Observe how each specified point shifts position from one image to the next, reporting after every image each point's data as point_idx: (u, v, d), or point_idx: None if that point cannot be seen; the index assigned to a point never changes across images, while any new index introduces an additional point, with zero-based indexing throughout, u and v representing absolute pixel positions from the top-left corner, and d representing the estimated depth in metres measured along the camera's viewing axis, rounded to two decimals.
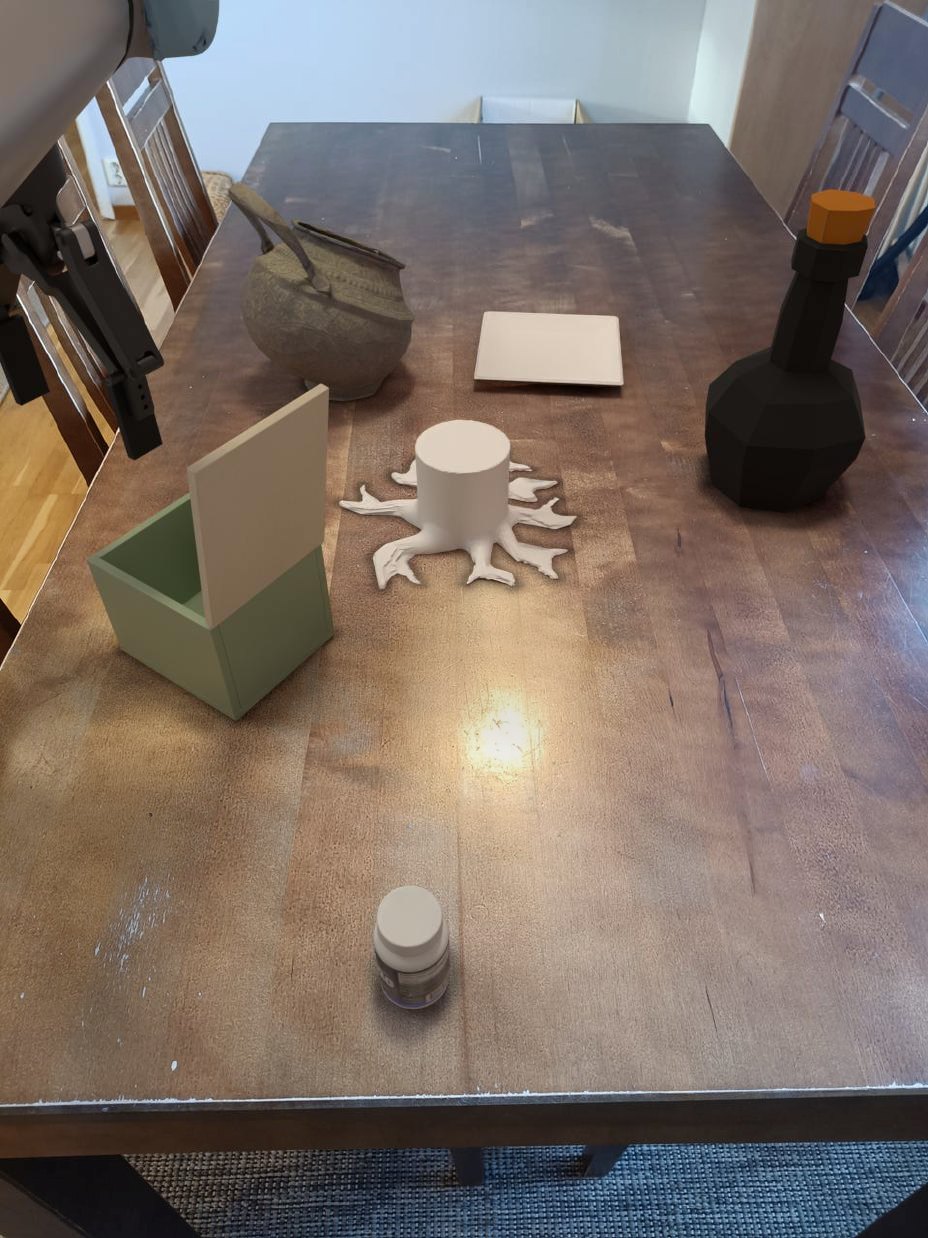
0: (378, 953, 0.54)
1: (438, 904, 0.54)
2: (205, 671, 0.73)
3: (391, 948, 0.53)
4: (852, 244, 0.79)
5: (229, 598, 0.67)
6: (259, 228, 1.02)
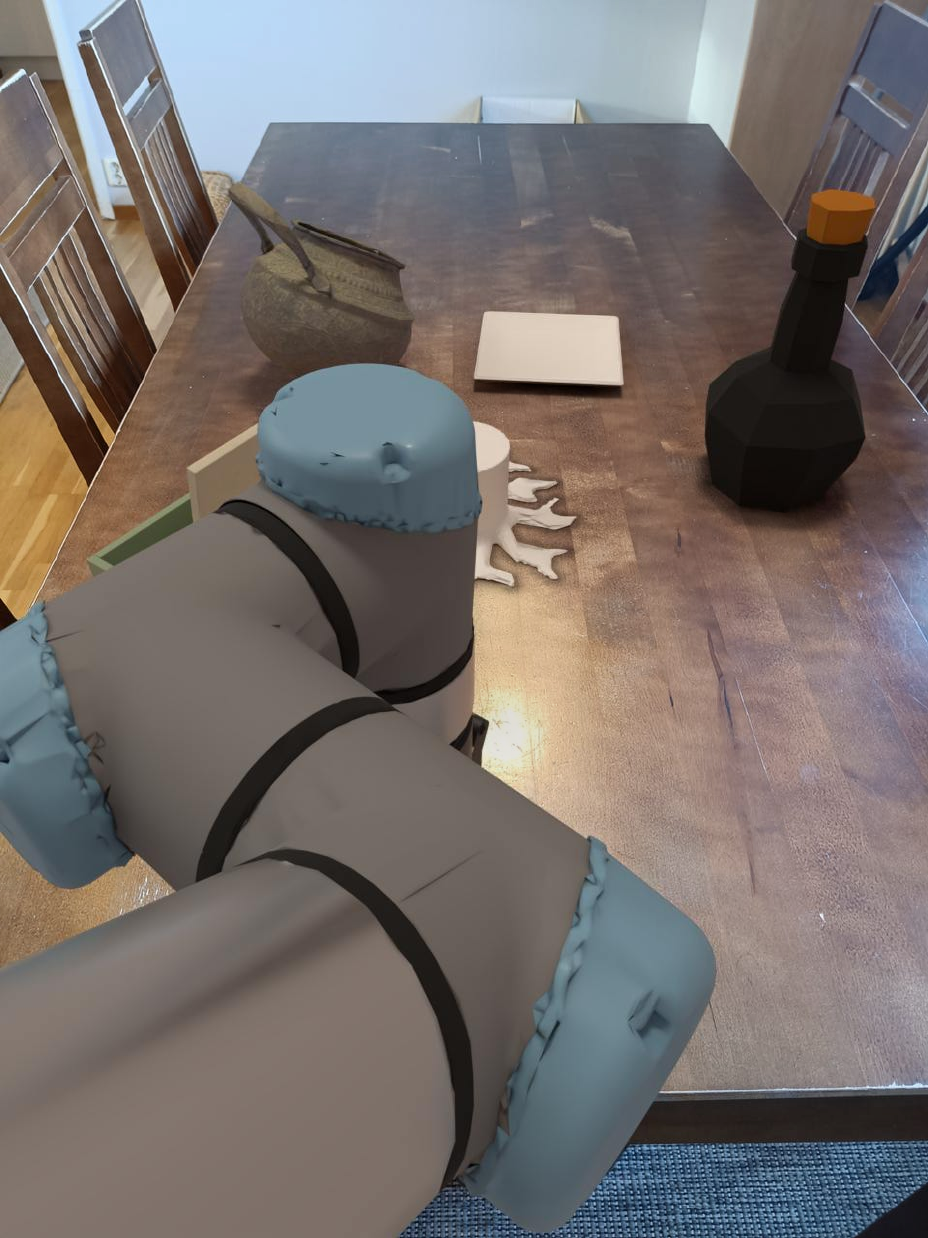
0: None
1: None
2: None
3: None
4: (852, 244, 0.79)
5: None
6: (259, 228, 1.02)
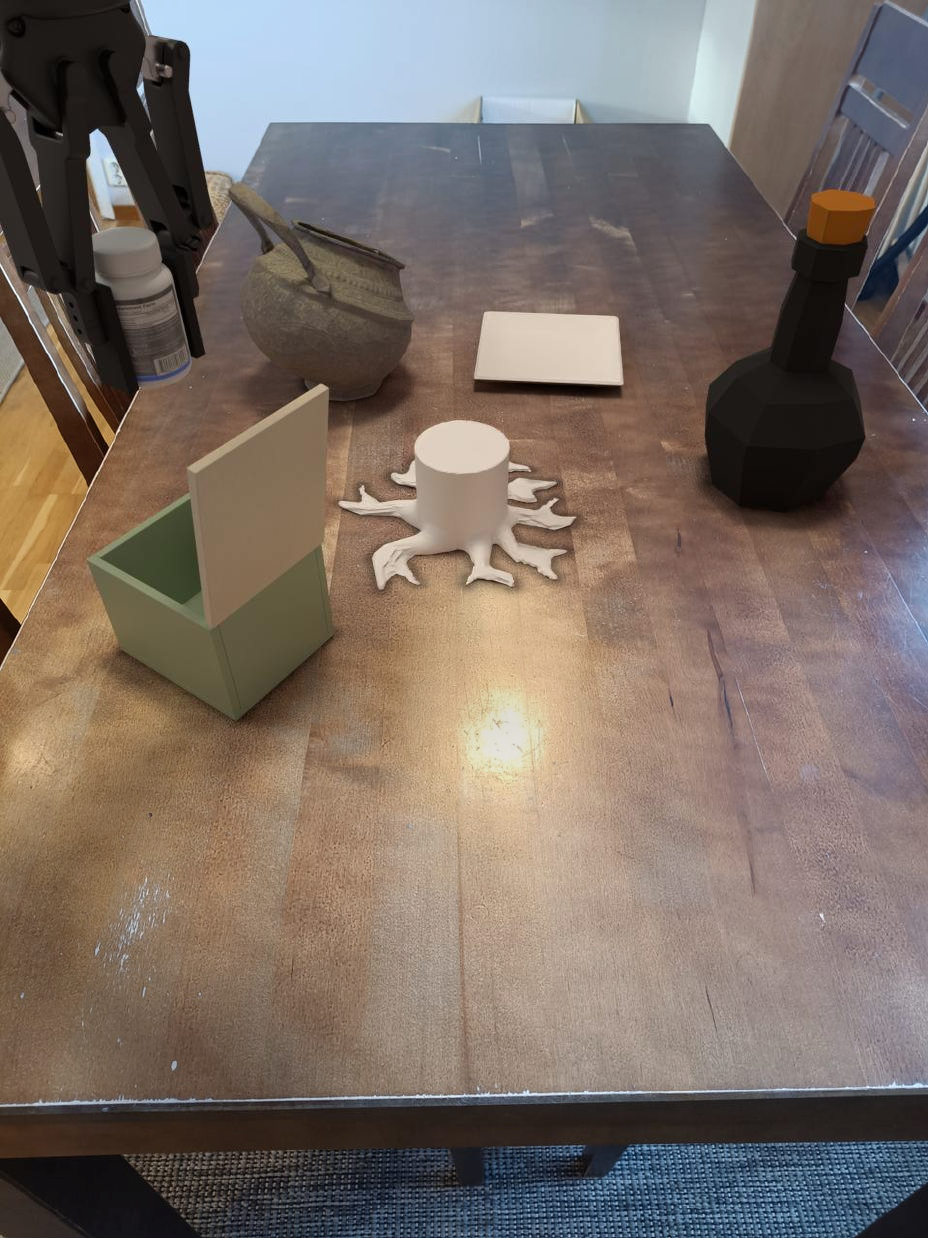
0: None
1: (154, 234, 0.52)
2: (205, 671, 0.73)
3: (98, 263, 0.51)
4: (852, 244, 0.79)
5: (229, 598, 0.67)
6: (259, 228, 1.02)
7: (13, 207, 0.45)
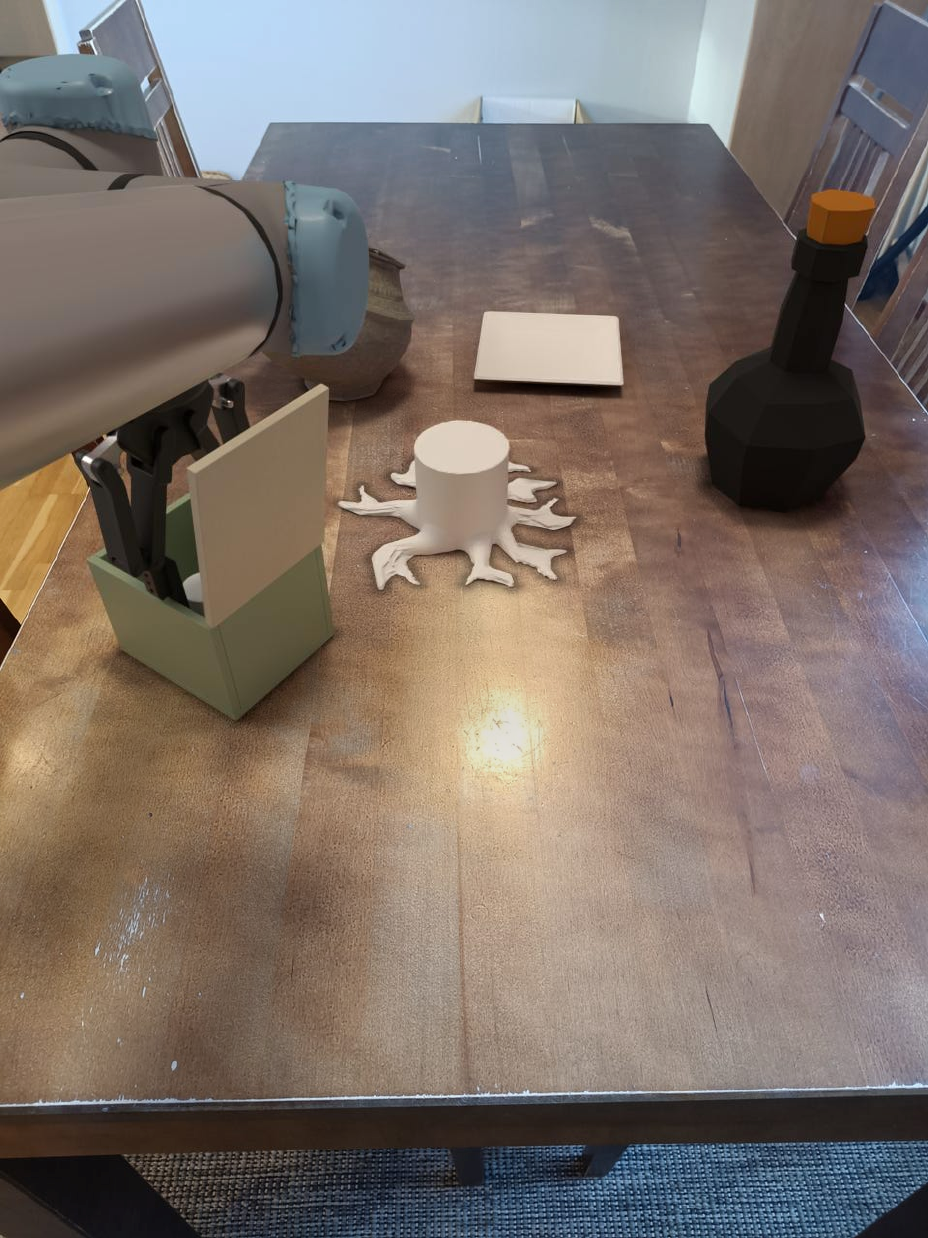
0: None
1: None
2: (205, 671, 0.73)
3: (189, 605, 0.73)
4: (852, 244, 0.79)
5: (229, 598, 0.67)
6: None
7: (114, 525, 0.62)
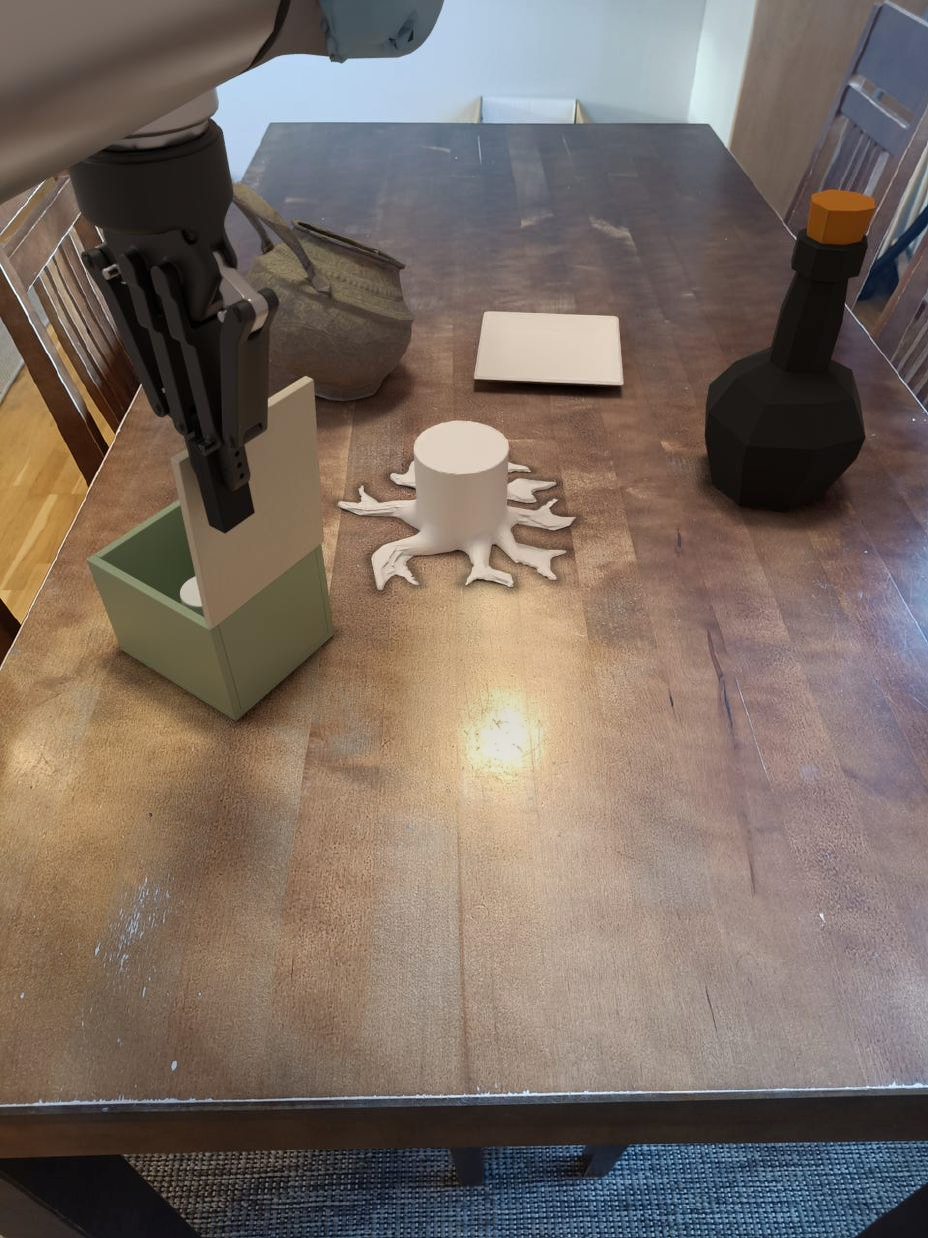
0: None
1: None
2: (205, 671, 0.73)
3: None
4: (852, 244, 0.79)
5: (227, 596, 0.67)
6: (259, 228, 1.02)
7: (262, 376, 0.49)
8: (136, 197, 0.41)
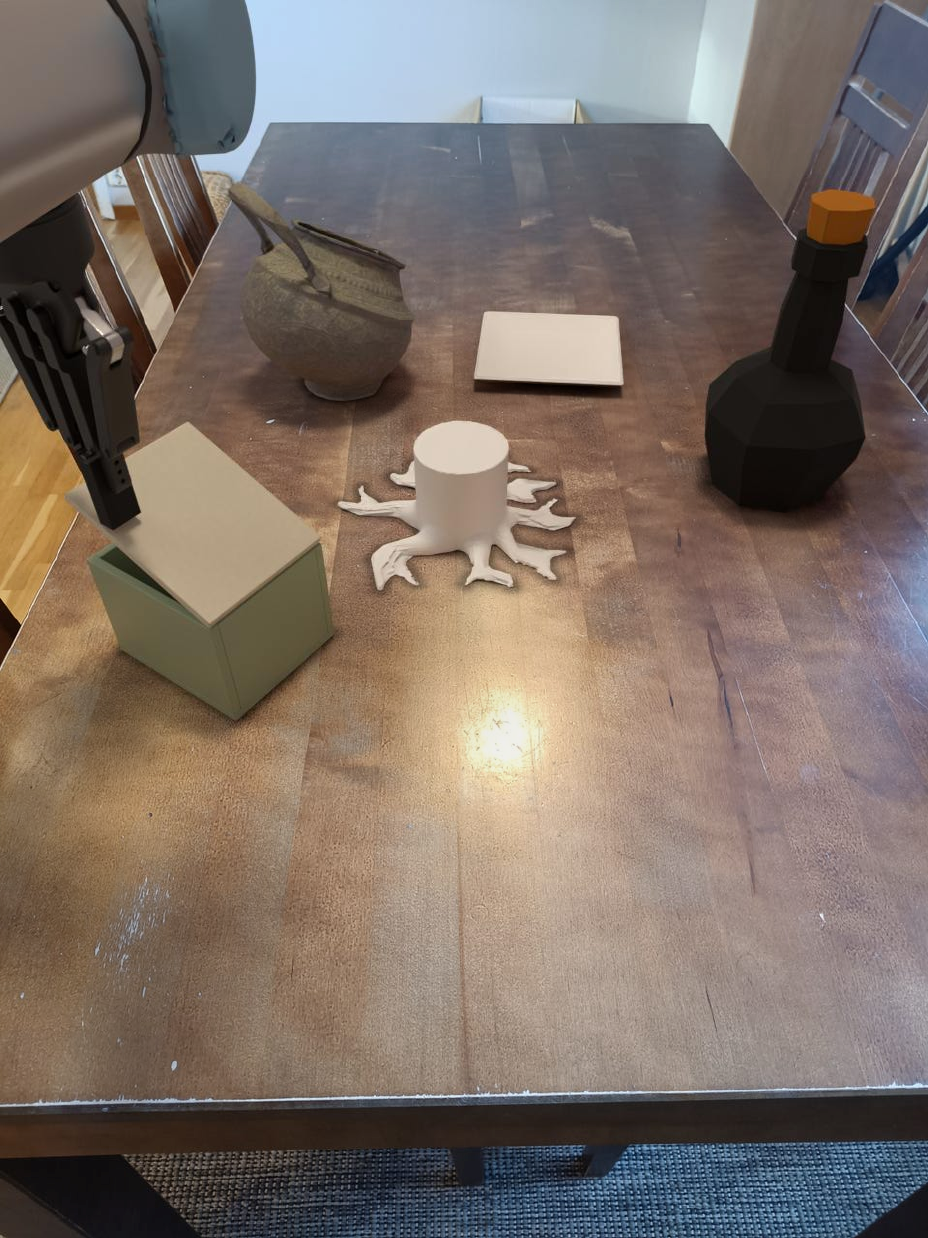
0: None
1: None
2: (205, 671, 0.73)
3: None
4: (852, 244, 0.79)
5: (208, 593, 0.68)
6: (259, 228, 1.02)
7: (128, 398, 0.59)
8: (4, 256, 0.51)
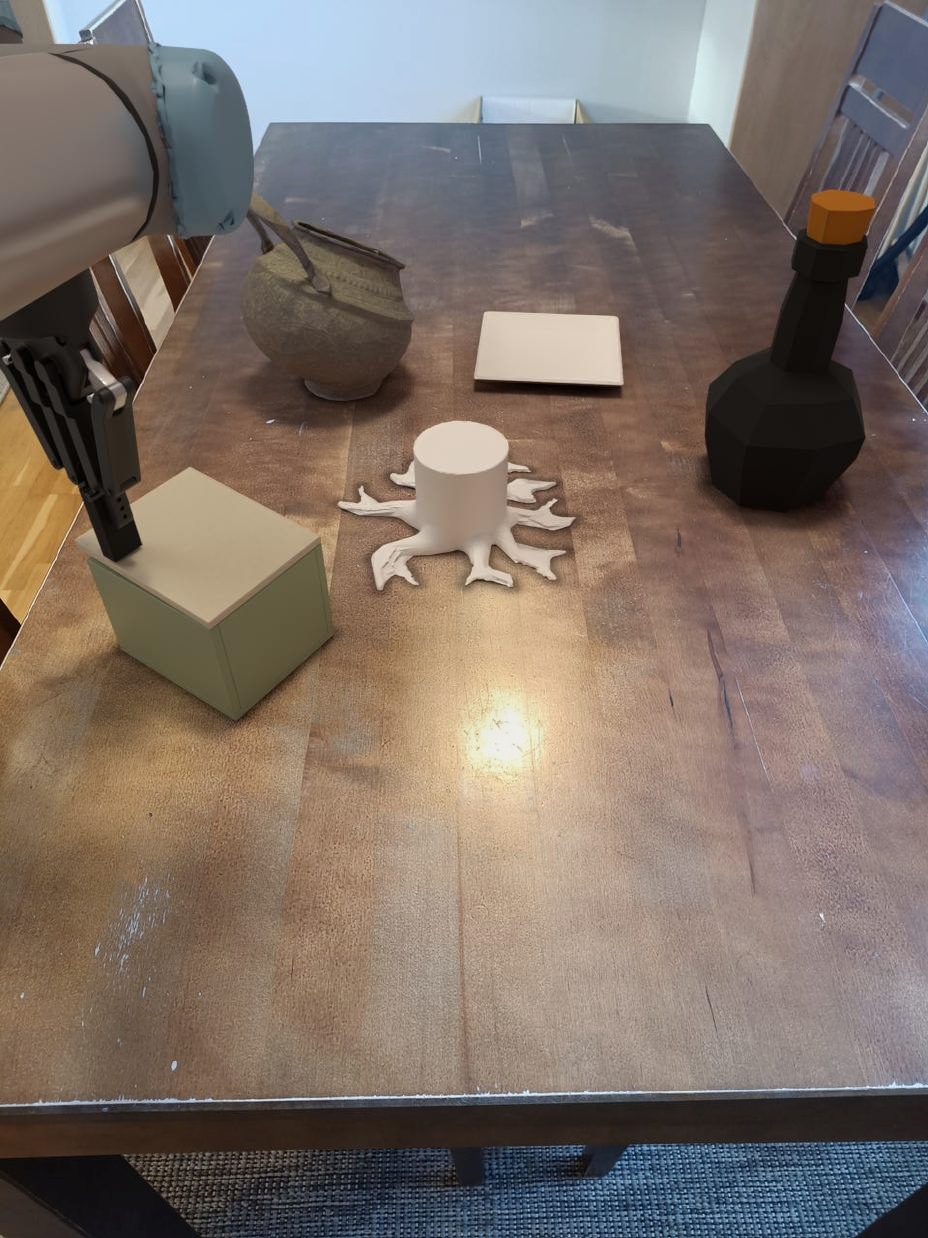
0: None
1: None
2: (205, 671, 0.73)
3: None
4: (852, 244, 0.79)
5: (207, 597, 0.69)
6: (259, 228, 1.02)
7: (130, 441, 0.62)
8: (14, 314, 0.54)
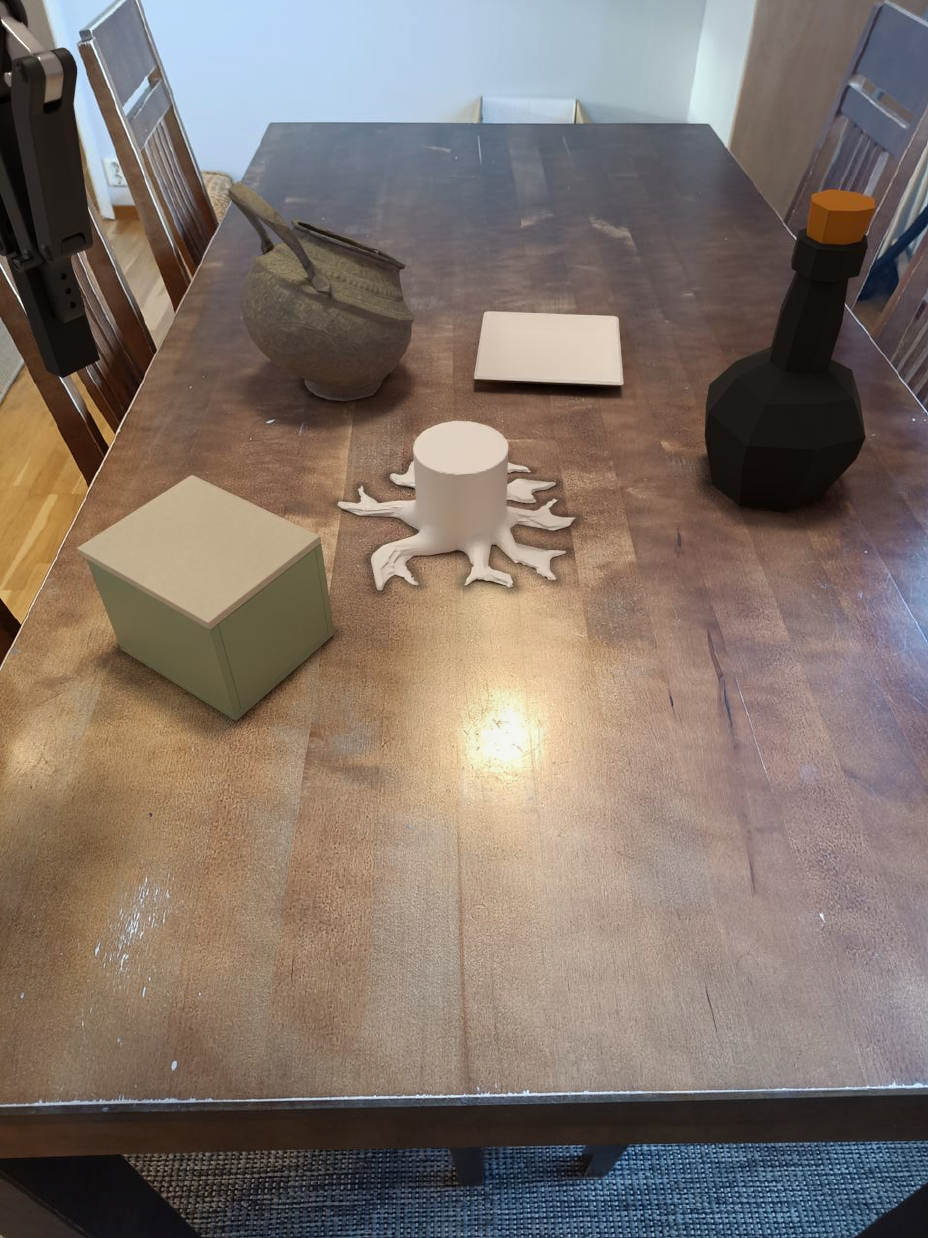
0: None
1: None
2: (205, 671, 0.73)
3: None
4: (852, 244, 0.79)
5: (208, 598, 0.69)
6: (259, 228, 1.02)
7: (73, 168, 0.43)
8: None
